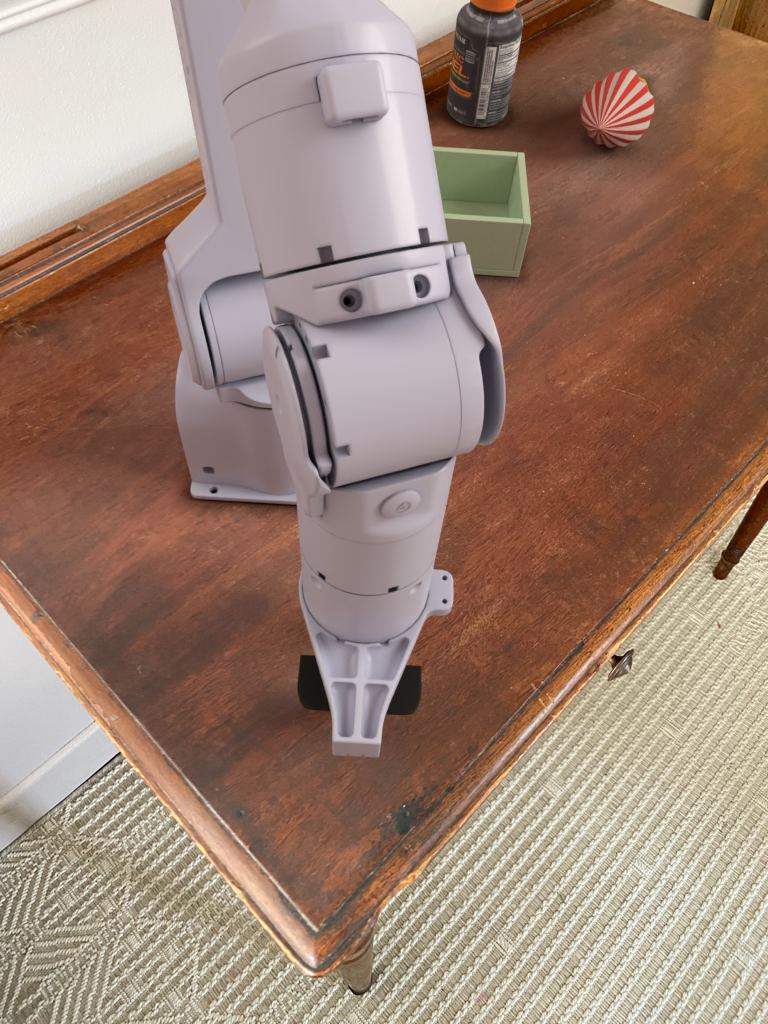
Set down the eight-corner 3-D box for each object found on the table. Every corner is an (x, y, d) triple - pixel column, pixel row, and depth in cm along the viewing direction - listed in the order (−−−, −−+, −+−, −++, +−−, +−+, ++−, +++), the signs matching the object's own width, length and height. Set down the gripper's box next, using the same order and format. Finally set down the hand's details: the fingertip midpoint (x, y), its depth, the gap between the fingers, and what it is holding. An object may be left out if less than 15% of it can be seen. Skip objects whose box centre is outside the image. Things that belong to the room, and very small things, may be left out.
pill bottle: (437, 98, 78) (451, -31, 69) (493, 91, 79) (514, -36, 70) (458, 133, 75) (475, 3, 66) (516, 125, 76) (541, -4, 67)
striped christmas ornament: (639, 127, 85) (593, 183, 71) (603, 77, 84) (549, 125, 70) (690, 84, 81) (652, 135, 67) (653, 31, 79) (606, 71, 65)
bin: (398, 269, 64) (403, 215, 60) (401, 198, 69) (405, 144, 65) (518, 277, 64) (531, 223, 60) (512, 206, 69) (524, 152, 65)
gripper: (469, 711, 29) (432, 803, 40) (463, 405, 37) (433, 554, 48) (274, 700, 29) (291, 796, 40) (310, 395, 37) (316, 547, 48)
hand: (360, 663), depth 44 cm, fingers closed on wristwatch, 5 cm apart
